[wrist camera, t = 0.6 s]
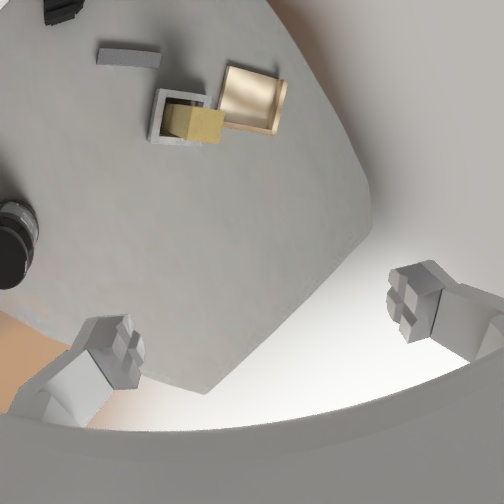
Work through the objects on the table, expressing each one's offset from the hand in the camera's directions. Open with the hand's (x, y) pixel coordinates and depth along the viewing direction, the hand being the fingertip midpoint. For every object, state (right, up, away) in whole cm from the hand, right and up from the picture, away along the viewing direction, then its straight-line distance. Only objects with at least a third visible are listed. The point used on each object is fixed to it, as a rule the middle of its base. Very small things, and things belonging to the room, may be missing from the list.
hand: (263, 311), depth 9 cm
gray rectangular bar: (-20, +32, +28) cm, 47 cm away
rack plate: (-1, +29, +41) cm, 50 cm away
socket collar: (-13, +24, +37) cm, 46 cm away
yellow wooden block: (-13, +24, +37) cm, 46 cm away
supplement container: (-41, +6, +30) cm, 51 cm away
